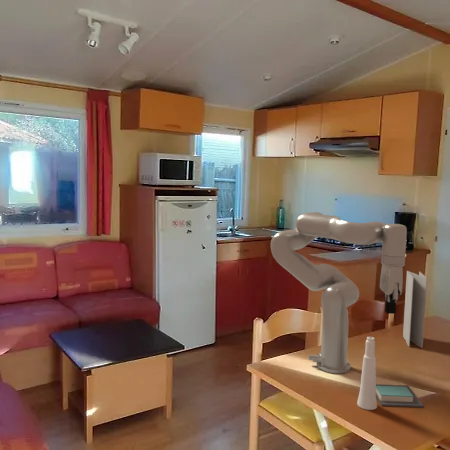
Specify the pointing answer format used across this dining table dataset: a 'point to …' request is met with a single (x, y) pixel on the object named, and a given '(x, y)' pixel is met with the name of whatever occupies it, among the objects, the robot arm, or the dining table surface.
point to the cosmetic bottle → (368, 378)
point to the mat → (415, 402)
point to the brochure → (414, 308)
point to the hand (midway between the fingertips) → (390, 312)
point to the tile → (394, 393)
